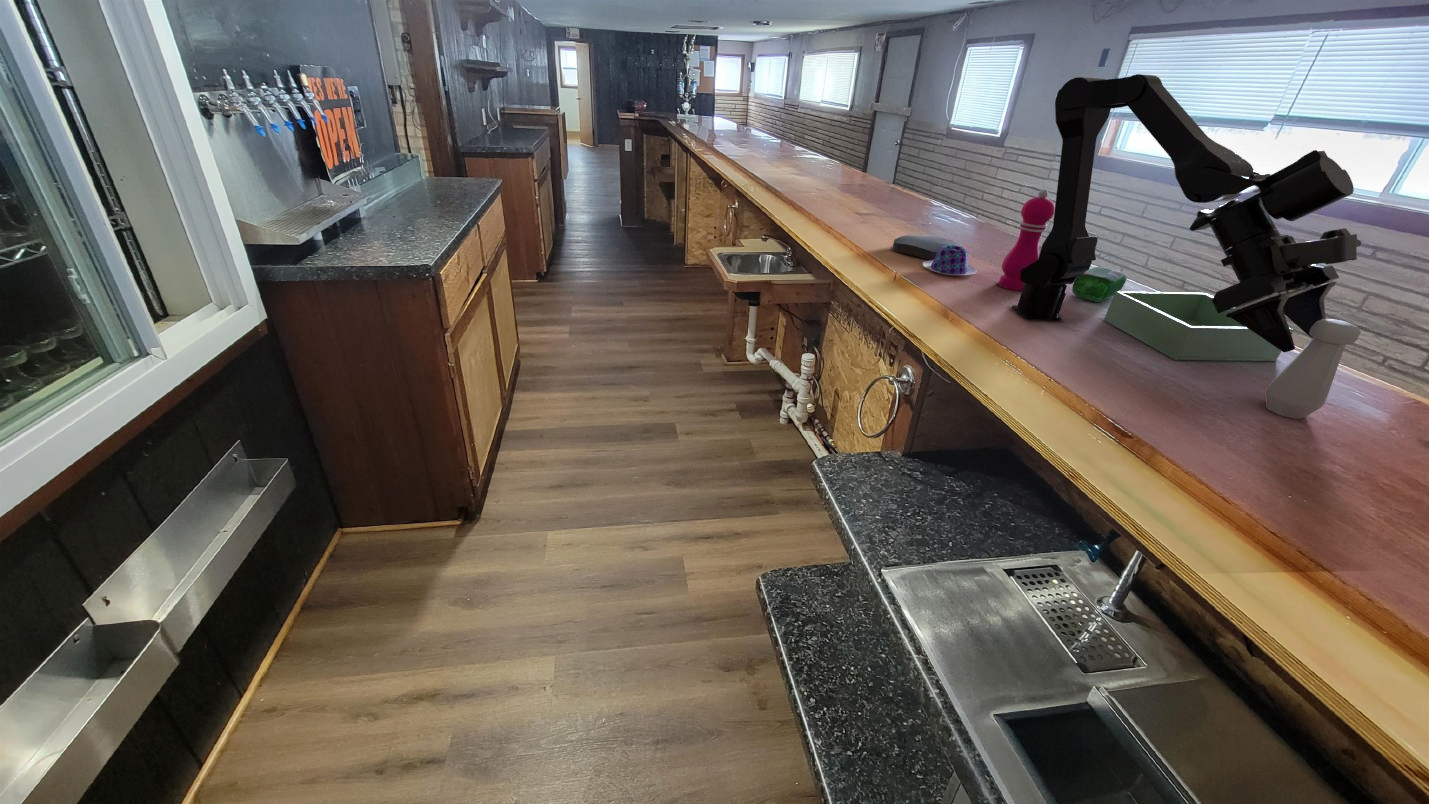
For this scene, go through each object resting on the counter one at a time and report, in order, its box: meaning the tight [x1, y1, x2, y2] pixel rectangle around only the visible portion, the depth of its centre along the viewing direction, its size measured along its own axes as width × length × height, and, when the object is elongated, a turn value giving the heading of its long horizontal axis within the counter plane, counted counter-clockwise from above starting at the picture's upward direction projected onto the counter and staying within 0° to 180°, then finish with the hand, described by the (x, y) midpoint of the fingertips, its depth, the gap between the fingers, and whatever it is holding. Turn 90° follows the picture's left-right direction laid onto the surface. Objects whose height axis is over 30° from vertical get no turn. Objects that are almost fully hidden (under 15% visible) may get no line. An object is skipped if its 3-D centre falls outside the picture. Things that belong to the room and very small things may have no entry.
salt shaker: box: [1264, 318, 1362, 420], centre depth 74 cm, size 6×6×13 cm
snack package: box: [1071, 266, 1128, 303], centre depth 118 cm, size 7×16×5 cm, turn 131°
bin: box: [1103, 290, 1295, 362], centre depth 98 cm, size 18×18×6 cm
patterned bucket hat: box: [922, 245, 978, 277], centre depth 130 cm, size 12×12×5 cm
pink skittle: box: [998, 189, 1055, 292], centre depth 117 cm, size 7×7×20 cm
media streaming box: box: [892, 234, 964, 261], centre depth 144 cm, size 15×15×3 cm
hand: (1306, 345), depth 74 cm, fingers open, 9 cm apart
